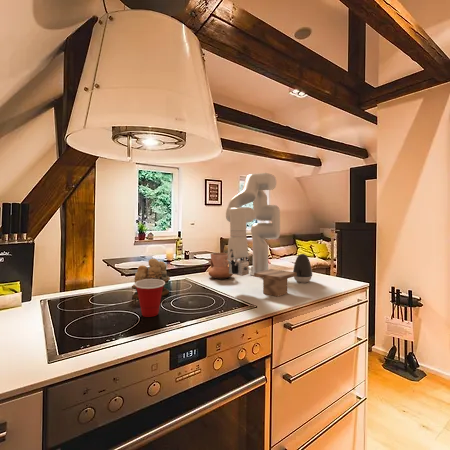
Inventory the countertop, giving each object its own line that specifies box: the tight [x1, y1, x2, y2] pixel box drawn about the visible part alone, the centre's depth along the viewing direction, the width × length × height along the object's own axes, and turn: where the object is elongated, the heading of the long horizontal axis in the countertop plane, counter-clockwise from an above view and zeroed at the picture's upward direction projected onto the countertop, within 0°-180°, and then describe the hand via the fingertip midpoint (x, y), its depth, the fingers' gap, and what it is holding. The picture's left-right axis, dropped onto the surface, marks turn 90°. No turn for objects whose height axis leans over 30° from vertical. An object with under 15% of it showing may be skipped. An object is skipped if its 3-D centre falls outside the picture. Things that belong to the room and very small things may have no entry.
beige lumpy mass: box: [131, 258, 171, 301], centre depth 129 cm, size 18×12×17 cm, turn 130°
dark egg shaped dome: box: [292, 253, 313, 284], centre depth 155 cm, size 10×10×15 cm
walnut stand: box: [253, 268, 297, 297], centre depth 132 cm, size 14×14×10 cm
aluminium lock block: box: [228, 259, 250, 277], centre depth 134 cm, size 9×5×6 cm, turn 47°
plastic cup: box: [134, 279, 166, 318], centre depth 104 cm, size 11×11×12 cm
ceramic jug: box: [208, 252, 234, 280], centre depth 167 cm, size 18×14×14 cm
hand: (238, 272), depth 134 cm, fingers closed on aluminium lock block, 5 cm apart
